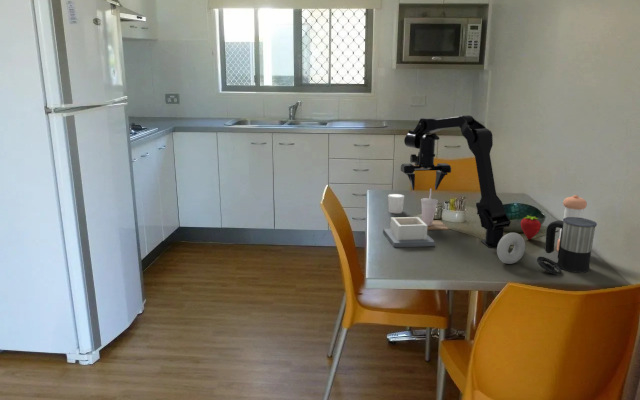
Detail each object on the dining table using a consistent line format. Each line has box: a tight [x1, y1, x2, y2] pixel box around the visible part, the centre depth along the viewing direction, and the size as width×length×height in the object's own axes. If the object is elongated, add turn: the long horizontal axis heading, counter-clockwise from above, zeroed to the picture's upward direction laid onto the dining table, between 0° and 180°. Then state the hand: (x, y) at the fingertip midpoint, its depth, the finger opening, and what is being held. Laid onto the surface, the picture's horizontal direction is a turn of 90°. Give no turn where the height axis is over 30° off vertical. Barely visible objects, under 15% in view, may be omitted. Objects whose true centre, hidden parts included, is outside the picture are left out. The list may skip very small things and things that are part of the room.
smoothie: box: [420, 188, 439, 226], centre depth 200 cm, size 6×6×14 cm
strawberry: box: [520, 215, 542, 240], centre depth 186 cm, size 6×8×10 cm
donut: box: [496, 232, 526, 265], centre depth 163 cm, size 10×4×10 cm, turn 113°
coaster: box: [427, 219, 450, 231], centre depth 202 cm, size 11×11×1 cm
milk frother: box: [536, 217, 598, 275], centre depth 158 cm, size 14×16×15 cm
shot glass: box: [387, 193, 405, 214], centre depth 220 cm, size 7×7×7 cm
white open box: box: [382, 216, 436, 248], centre depth 185 cm, size 16×14×6 cm
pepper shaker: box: [556, 194, 588, 252], centre depth 173 cm, size 7×7×19 cm
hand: (424, 189), depth 208 cm, fingers open, 9 cm apart
